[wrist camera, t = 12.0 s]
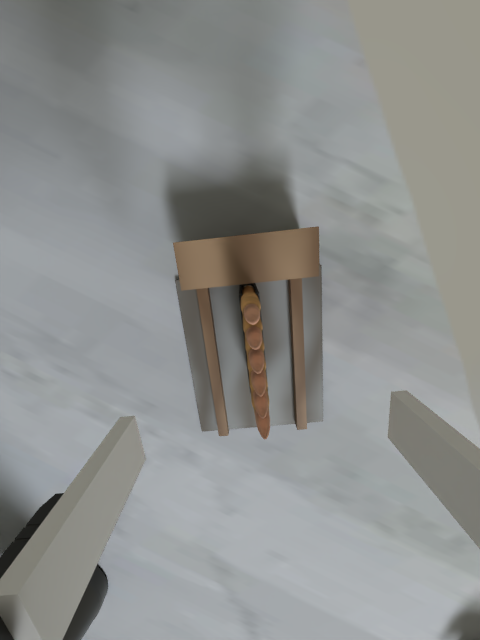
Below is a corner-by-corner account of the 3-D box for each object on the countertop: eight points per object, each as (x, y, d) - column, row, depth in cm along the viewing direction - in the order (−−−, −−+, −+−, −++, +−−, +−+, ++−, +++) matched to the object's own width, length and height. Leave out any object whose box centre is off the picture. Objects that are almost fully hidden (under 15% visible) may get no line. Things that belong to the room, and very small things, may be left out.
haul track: (202, 429, 32) (193, 468, 26) (170, 247, 25) (149, 245, 19) (322, 419, 31) (340, 457, 25) (319, 231, 25) (343, 223, 19)
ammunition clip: (239, 284, 26) (236, 308, 14) (255, 282, 26) (267, 305, 14) (248, 371, 29) (253, 450, 17) (263, 370, 29) (279, 448, 17)
